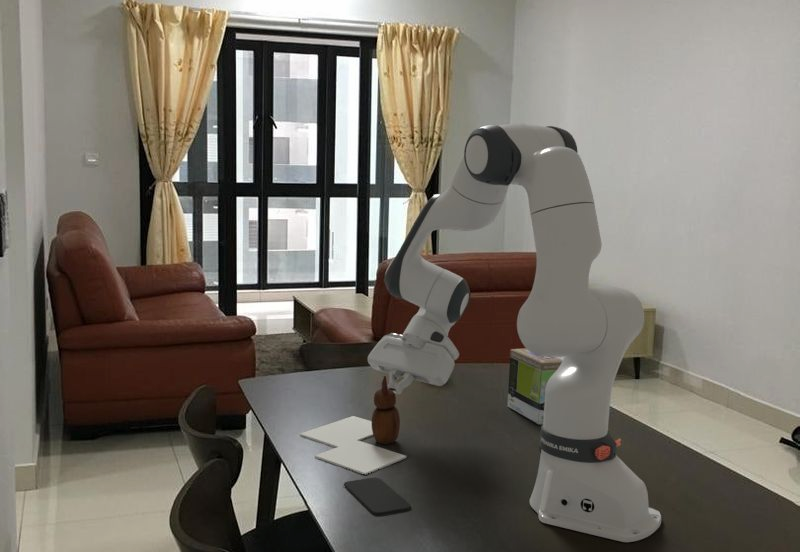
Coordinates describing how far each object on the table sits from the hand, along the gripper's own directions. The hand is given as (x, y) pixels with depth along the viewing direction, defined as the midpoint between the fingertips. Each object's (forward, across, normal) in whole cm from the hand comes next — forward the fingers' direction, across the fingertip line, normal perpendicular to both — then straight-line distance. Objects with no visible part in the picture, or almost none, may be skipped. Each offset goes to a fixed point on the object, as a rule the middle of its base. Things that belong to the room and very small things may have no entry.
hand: (392, 391), depth 180 cm
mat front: (+10, -10, +5) cm, 15 cm away
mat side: (+16, +3, -1) cm, 17 cm away
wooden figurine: (+9, 0, +6) cm, 11 cm away
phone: (+25, +17, -10) cm, 32 cm away
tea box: (-20, +14, +35) cm, 42 cm away
